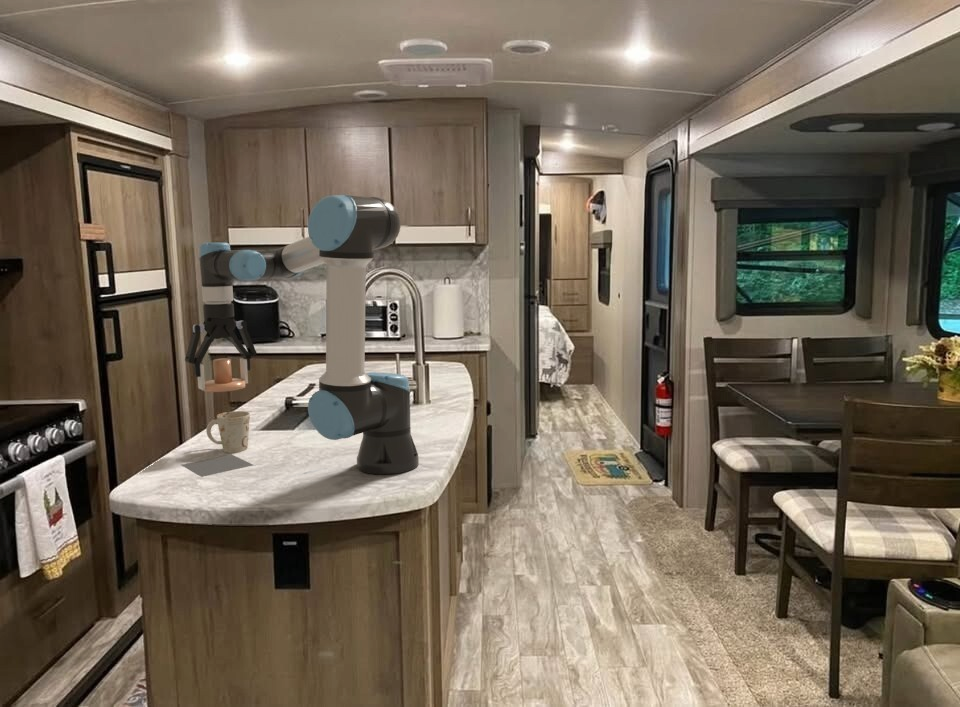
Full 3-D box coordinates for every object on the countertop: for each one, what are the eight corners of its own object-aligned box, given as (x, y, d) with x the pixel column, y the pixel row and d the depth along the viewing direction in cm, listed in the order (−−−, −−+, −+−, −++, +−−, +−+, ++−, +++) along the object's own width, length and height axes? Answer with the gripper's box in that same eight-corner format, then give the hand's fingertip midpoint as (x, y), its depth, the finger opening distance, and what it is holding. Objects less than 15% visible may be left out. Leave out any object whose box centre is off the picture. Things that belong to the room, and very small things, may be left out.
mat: (253, 466, 184) (253, 464, 184) (201, 478, 175) (201, 476, 175) (231, 456, 194) (231, 454, 194) (181, 466, 185) (181, 464, 185)
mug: (241, 456, 193) (239, 418, 192) (198, 454, 196) (195, 417, 194) (257, 447, 201) (255, 411, 200) (215, 445, 204) (213, 410, 202)
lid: (252, 387, 196) (251, 359, 194) (211, 393, 188) (209, 364, 187) (234, 382, 204) (233, 355, 203) (194, 387, 196) (192, 359, 195)
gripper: (254, 299, 203) (258, 378, 206) (167, 304, 188) (173, 390, 191) (266, 300, 198) (271, 381, 201) (178, 306, 182) (184, 394, 185)
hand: (223, 385), depth 196 cm, fingers closed on lid, 11 cm apart
